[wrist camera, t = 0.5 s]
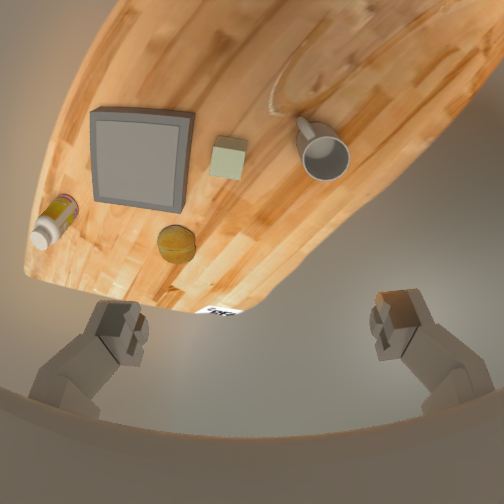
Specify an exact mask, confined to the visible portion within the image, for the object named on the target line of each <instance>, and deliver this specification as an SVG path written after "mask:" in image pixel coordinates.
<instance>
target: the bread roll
mask: <svg viewBox="0 0 504 504" xmlns="http://www.w3.org/2000/svg"><path fill="white" fill-rule="evenodd" d="M194 242H195V238H194V235H193V234H192V233H191V232H190V231H188V230H186V229H184V228H183V227H181V226H170V227H167V228H165V229H164V230H163V231H162V232H161V233H160V235H159V237H158V240H157V243H158V247H159V251H160V254H161V255H162V257H163V258H164V259H165V260H166V261H168V262H170V263H174V264H185V263H187V262H189V261H191V260H192V259H193V257H194V255H195V252H196V249H195V244H194Z"/></svg>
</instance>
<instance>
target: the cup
mask: <svg viewBox="0 0 504 504" xmlns="http://www.w3.org/2000/svg"><path fill="white" fill-rule="evenodd" d="M296 124H297V126H298V128H299V129H300V132H299V133H298V135H297V139H296V145H297V149H298V152H299V155H300V158H301V161H302V164H303V167H304V169H305V170H306V172H307V173H308V174H309V175H310V176H311V177H312V178H314V179H316V180H319V181H332V180H335V179H337V178H339V177H341V176H342V175H343V174H344V173H345V172H346V170H347V169H348V166H349V164H350V152H349V150H348V148H347V146H346V145H345V144H344V142H343V141H342V140H341V139H340V138H339V136H338V135H337V134H336V133H335V132H334V130H333V129H332V128H331V127H329V126H328V125H326V124H323V123H319V122H314V123H310V124H309V123H308V121H307V120H306V119H305V118H304V117H302V116H301V117H298V118H297V119H296Z"/></svg>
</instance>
